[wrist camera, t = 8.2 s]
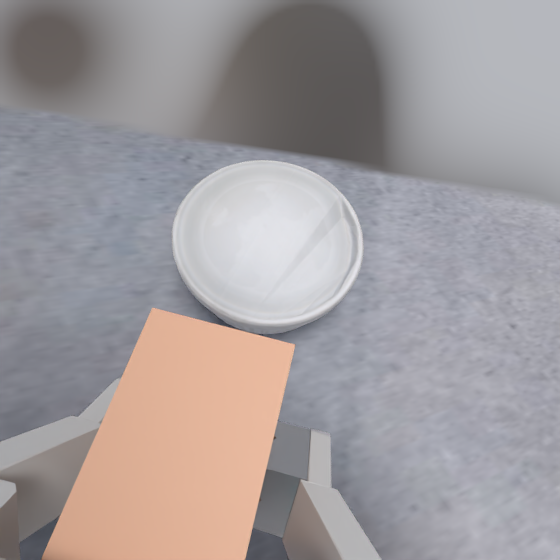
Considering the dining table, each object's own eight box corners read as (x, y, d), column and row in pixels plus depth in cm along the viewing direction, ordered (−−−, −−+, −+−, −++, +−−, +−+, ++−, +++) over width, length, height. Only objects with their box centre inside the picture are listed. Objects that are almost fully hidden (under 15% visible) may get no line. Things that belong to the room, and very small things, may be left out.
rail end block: (246, 518, 12) (223, 653, 4) (176, 498, 13) (26, 592, 4) (273, 403, 14) (295, 344, 6) (212, 387, 14) (152, 307, 6)
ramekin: (348, 354, 23) (372, 330, 18) (174, 345, 22) (152, 319, 17) (340, 213, 27) (358, 164, 23) (198, 203, 27) (186, 152, 22)
